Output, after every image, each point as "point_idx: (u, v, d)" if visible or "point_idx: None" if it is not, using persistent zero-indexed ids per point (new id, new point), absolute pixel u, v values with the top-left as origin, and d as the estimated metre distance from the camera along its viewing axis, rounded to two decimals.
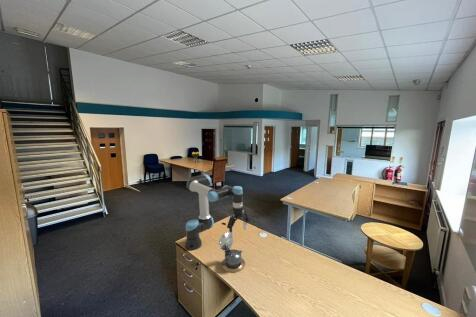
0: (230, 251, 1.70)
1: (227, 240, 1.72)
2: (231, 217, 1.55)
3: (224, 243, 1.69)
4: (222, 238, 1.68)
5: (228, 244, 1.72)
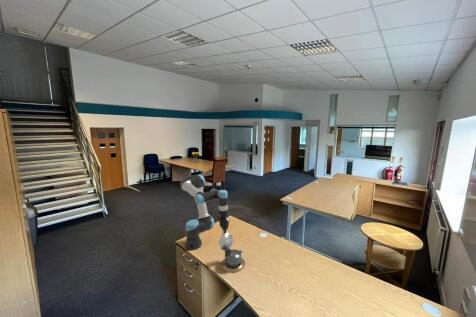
0: (230, 251, 1.70)
1: (227, 240, 1.71)
2: None
3: (224, 243, 1.69)
4: (222, 238, 1.68)
5: (228, 244, 1.72)
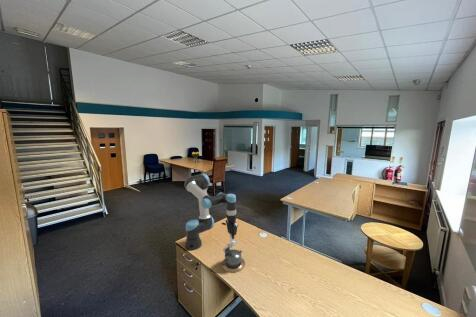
0: (230, 251, 1.70)
1: (232, 245, 1.67)
2: None
3: (228, 247, 1.66)
4: (229, 245, 1.62)
5: (231, 247, 1.70)
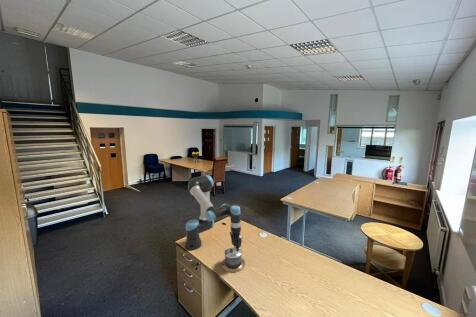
0: None
1: None
2: None
3: None
4: None
5: None
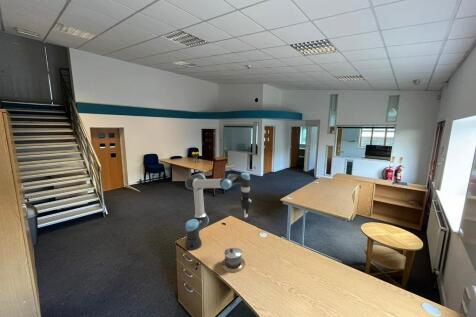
0: None
1: None
2: None
3: None
4: None
5: None
